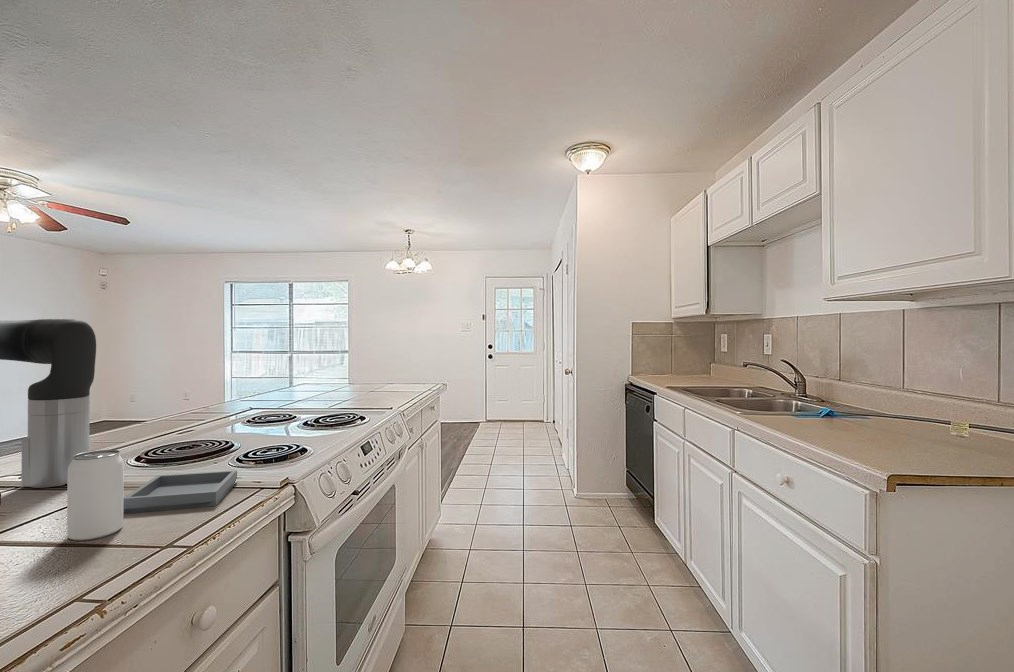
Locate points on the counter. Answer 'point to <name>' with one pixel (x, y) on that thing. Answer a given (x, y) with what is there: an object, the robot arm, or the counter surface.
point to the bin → (180, 491)
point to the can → (94, 495)
